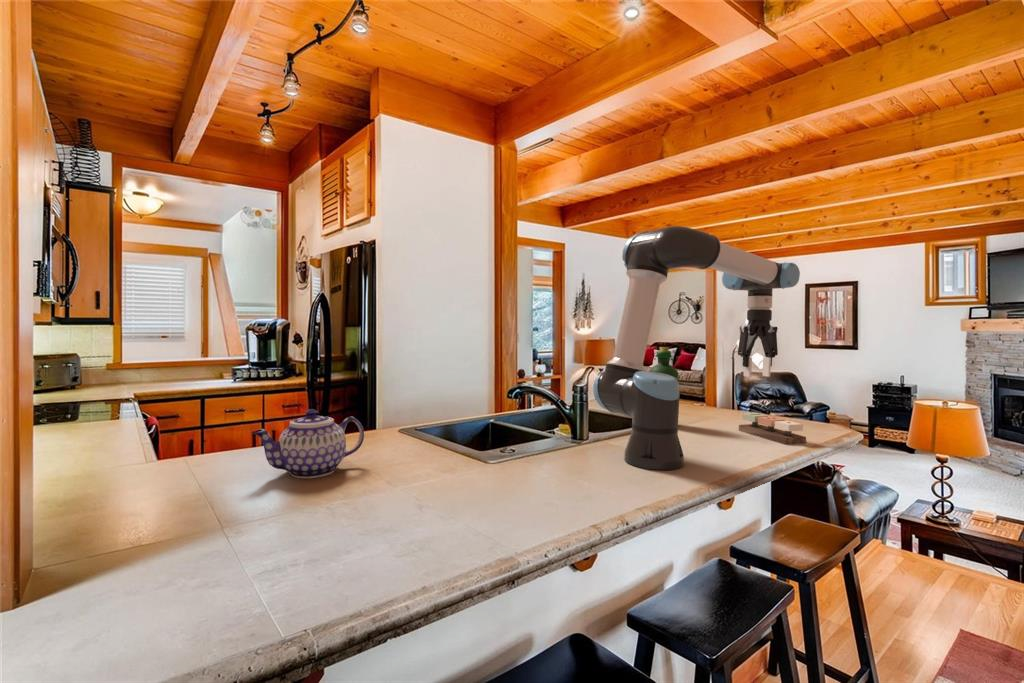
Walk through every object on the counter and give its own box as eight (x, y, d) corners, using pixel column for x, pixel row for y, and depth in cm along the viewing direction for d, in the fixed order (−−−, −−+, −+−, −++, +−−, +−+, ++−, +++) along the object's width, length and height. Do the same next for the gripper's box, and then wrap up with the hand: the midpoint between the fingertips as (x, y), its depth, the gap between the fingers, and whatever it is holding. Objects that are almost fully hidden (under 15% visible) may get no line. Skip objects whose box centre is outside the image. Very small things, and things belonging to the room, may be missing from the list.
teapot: (354, 456, 132) (355, 400, 132) (374, 471, 120) (375, 409, 119) (248, 471, 118) (248, 408, 117) (258, 490, 105) (258, 420, 105)
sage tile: (754, 428, 168) (754, 416, 168) (742, 425, 173) (742, 413, 173) (767, 428, 169) (768, 415, 169) (755, 424, 175) (755, 412, 174)
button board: (785, 444, 154) (785, 438, 154) (738, 430, 173) (738, 424, 173) (805, 443, 156) (806, 436, 156) (757, 429, 175) (757, 423, 175)
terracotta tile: (770, 433, 161) (771, 420, 161) (757, 429, 166) (758, 416, 166) (784, 432, 163) (784, 419, 162) (771, 428, 168) (771, 416, 168)
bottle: (673, 422, 186) (676, 346, 184) (680, 428, 175) (683, 348, 174) (644, 421, 187) (646, 346, 186) (649, 427, 176) (651, 347, 175)
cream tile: (788, 438, 154) (788, 424, 154) (774, 434, 160) (774, 421, 159) (802, 437, 156) (802, 423, 156) (788, 433, 161) (788, 420, 161)
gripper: (743, 308, 163) (740, 378, 164) (792, 309, 169) (789, 377, 170) (727, 308, 170) (724, 375, 171) (774, 309, 176) (772, 374, 177)
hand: (756, 376), depth 170 cm, fingers open, 7 cm apart
